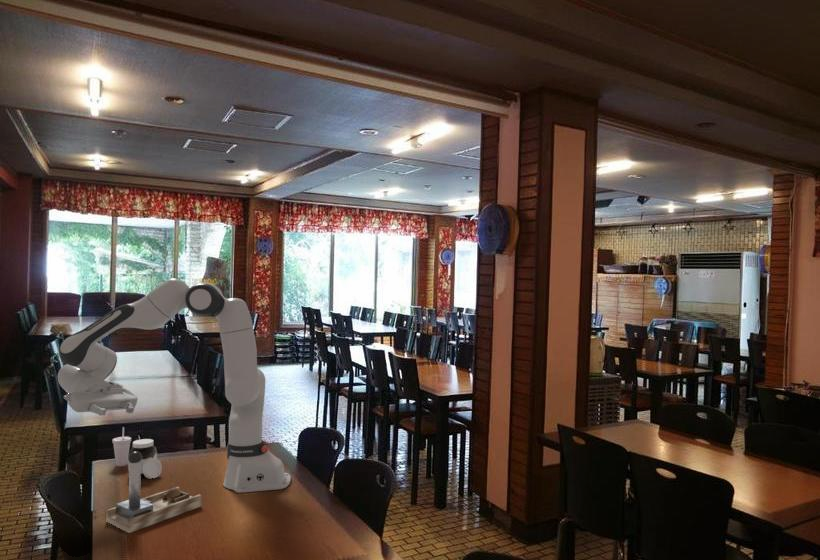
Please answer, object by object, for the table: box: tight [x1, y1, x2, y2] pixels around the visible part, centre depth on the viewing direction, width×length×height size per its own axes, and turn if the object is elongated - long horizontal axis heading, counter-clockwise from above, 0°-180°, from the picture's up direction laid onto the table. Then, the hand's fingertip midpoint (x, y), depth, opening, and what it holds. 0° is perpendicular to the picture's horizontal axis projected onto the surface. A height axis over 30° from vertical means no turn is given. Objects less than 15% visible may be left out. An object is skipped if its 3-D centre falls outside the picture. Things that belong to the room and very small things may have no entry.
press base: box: [105, 486, 202, 534], centre depth 173 cm, size 23×12×4 cm, turn 146°
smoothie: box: [112, 426, 132, 467], centre depth 216 cm, size 6×6×14 cm
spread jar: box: [127, 438, 163, 480], centre depth 206 cm, size 12×11×12 cm
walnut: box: [167, 487, 181, 501], centre depth 178 cm, size 4×4×4 cm
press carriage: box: [115, 451, 153, 519], centre depth 168 cm, size 7×9×18 cm
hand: (118, 412), depth 177 cm, fingers open, 8 cm apart
